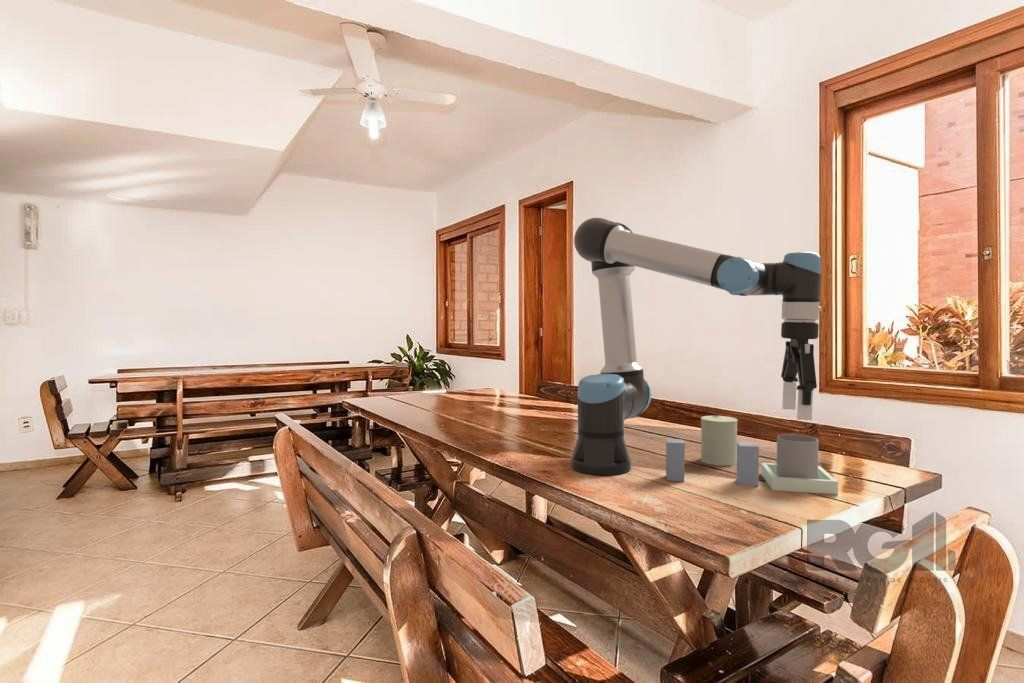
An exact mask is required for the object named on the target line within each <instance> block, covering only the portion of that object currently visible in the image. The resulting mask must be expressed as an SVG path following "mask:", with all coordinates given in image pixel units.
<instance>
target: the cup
mask: <svg viewBox="0 0 1024 683" xmlns="http://www.w3.org/2000/svg"><path fill="white" fill-rule="evenodd" d="M819 441H820V440H819V439H818V438H817V437H813V436H809V435H804V434H791V433H790V434H787V433H785V434H778V435H777V436H776V464H777V470H776V477H789V478H806V479H818V466H819Z"/></svg>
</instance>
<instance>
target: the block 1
mask: <svg viewBox="0 0 1024 683" xmlns="http://www.w3.org/2000/svg"><path fill="white" fill-rule="evenodd" d="M665 441H666V442H665V453H666V454H665V477H666V481H671V482H685V465H686V464H685V460H686V459H685V453H686V452H685V447H686V443H685V440H684V439H678V438H677V439H676V438H666V440H665Z"/></svg>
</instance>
